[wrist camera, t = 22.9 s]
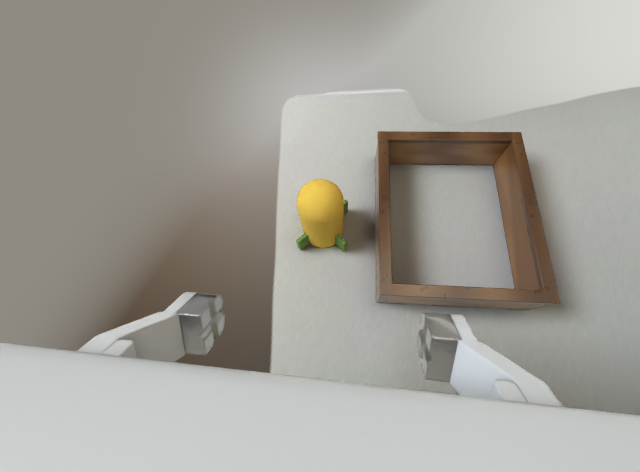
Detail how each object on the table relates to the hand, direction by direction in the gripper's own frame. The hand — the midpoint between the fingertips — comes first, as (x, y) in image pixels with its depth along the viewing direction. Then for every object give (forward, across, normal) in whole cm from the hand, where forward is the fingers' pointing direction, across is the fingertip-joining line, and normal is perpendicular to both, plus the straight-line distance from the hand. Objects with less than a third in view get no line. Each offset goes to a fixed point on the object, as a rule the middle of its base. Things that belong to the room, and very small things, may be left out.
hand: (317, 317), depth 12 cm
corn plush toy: (+22, +2, +4) cm, 22 cm away
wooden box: (+23, -11, +3) cm, 26 cm away
